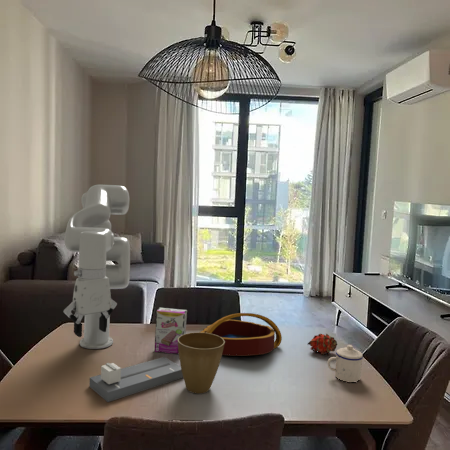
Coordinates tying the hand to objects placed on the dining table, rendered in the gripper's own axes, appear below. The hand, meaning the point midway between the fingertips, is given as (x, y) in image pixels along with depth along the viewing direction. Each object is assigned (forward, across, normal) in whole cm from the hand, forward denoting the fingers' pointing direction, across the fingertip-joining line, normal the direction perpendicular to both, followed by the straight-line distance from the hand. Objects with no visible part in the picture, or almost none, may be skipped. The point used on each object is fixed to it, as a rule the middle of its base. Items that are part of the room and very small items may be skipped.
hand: (90, 332), depth 126 cm
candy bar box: (+20, +40, +15) cm, 47 cm away
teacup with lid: (+20, +76, -39) cm, 88 cm away
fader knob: (+16, +7, 0) cm, 18 cm away
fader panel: (+20, +17, 0) cm, 26 cm away
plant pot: (+20, +30, -15) cm, 39 cm away
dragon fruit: (+20, +89, -21) cm, 94 cm away
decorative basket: (+20, +65, +1) cm, 68 cm away
